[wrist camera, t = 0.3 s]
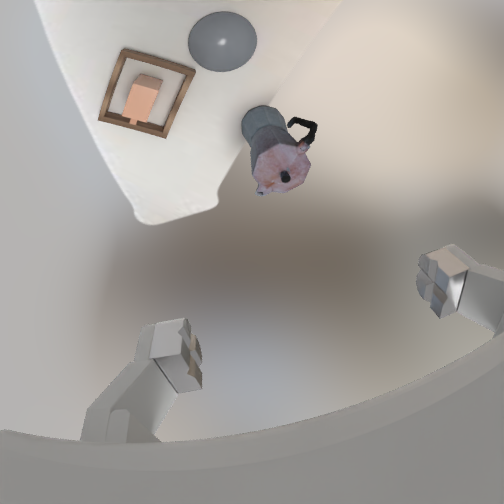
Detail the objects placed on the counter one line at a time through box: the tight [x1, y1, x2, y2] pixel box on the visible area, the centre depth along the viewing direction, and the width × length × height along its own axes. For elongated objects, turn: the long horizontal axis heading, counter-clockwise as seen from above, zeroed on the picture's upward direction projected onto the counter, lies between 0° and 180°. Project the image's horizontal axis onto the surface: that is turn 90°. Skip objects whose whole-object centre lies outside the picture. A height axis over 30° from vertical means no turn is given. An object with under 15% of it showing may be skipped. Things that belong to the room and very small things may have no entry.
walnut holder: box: [98, 49, 196, 139], centre depth 45 cm, size 14×14×3 cm
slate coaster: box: [188, 12, 257, 72], centre depth 41 cm, size 12×12×1 cm
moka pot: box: [242, 106, 317, 196], centre depth 49 cm, size 10×15×20 cm, turn 148°
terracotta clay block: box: [122, 74, 163, 125], centre depth 43 cm, size 8×4×8 cm, turn 151°
